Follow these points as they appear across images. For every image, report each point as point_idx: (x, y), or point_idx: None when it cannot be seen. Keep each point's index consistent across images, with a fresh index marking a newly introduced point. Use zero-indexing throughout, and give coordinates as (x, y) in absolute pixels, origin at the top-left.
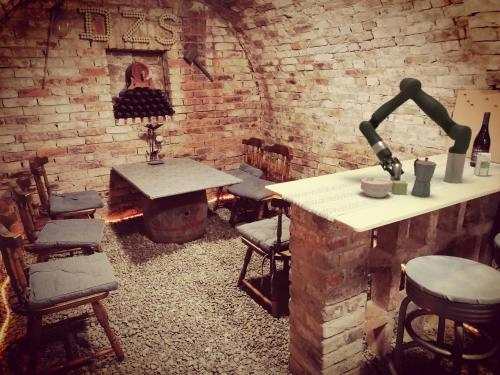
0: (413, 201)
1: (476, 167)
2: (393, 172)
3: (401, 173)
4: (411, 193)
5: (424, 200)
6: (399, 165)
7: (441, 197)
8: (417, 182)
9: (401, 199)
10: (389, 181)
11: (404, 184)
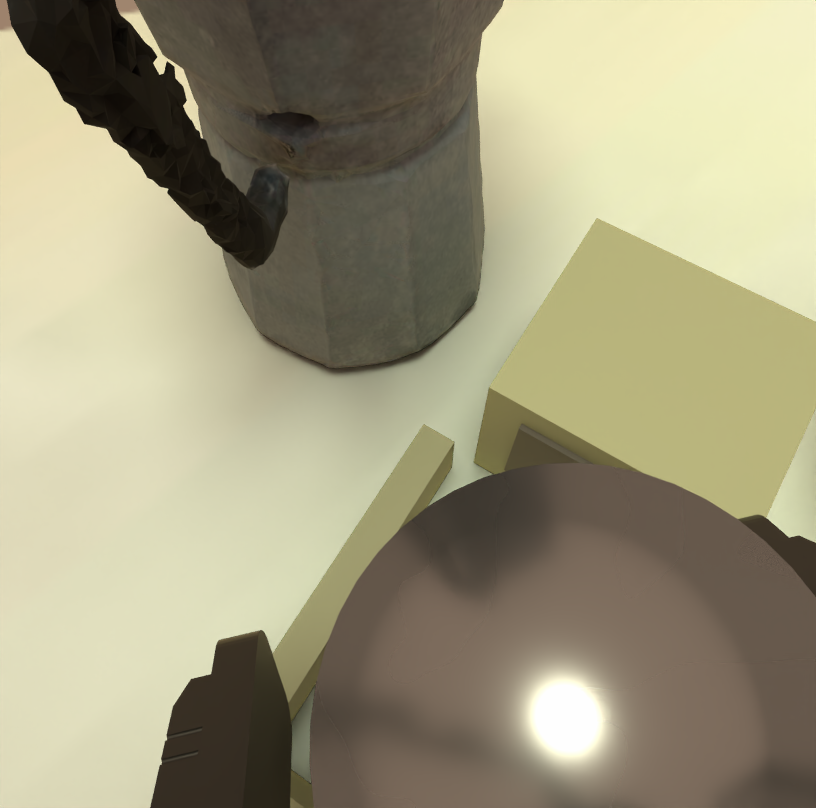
0: (681, 101)
1: None
2: (793, 558)
3: (280, 700)
4: (459, 317)
5: (514, 88)
6: (629, 479)
7: None
8: (475, 90)
9: (782, 201)
10: None
11: (648, 255)
